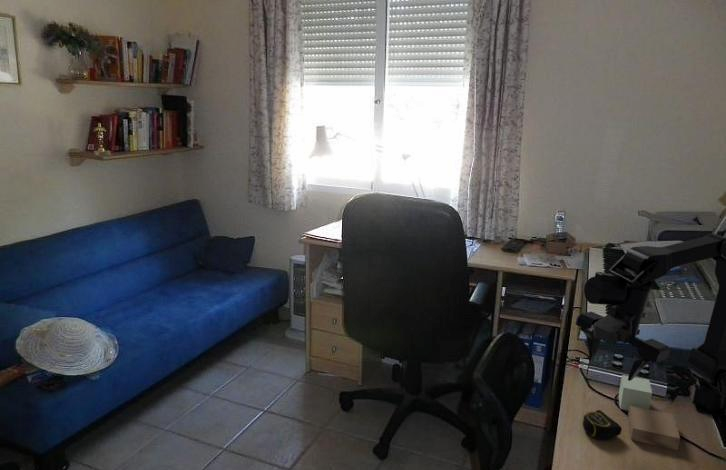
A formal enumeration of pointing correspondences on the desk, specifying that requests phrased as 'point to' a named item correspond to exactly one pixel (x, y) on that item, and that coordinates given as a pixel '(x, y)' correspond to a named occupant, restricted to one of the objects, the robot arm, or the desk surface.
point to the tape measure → (600, 425)
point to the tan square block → (653, 427)
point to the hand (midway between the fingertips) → (609, 369)
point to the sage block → (634, 393)
